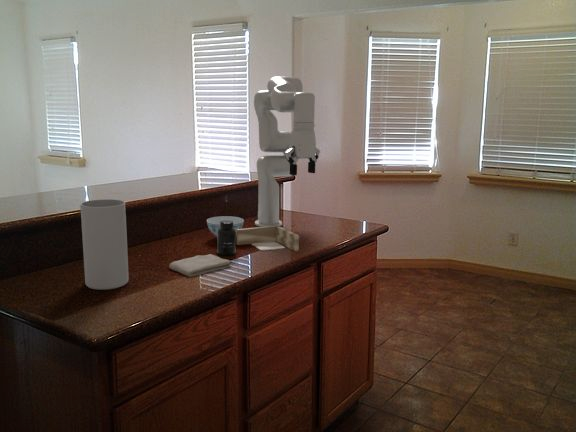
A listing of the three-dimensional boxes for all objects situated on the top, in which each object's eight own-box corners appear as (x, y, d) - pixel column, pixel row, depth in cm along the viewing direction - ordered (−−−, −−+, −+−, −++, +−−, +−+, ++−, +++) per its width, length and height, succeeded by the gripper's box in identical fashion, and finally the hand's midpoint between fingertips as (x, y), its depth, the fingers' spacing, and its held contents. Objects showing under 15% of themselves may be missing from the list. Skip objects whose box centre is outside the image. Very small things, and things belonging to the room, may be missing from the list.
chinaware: (246, 234, 223) (246, 217, 221) (239, 244, 208) (240, 225, 207) (211, 233, 224) (211, 215, 223) (202, 242, 210) (202, 223, 208)
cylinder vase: (113, 274, 169) (109, 197, 164) (137, 283, 162) (133, 203, 156) (77, 283, 160) (72, 203, 155) (100, 293, 152) (95, 209, 147)
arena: (236, 244, 208) (236, 229, 207) (277, 239, 216) (277, 225, 215) (254, 256, 192) (255, 240, 191) (298, 250, 200) (298, 235, 199)
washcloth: (232, 267, 180) (232, 258, 180) (189, 279, 168) (189, 269, 167) (211, 259, 189) (211, 251, 188) (168, 270, 176) (168, 261, 175)
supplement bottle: (226, 256, 191) (226, 224, 188) (213, 253, 195) (213, 221, 192) (239, 252, 196) (239, 221, 194) (226, 249, 200) (226, 218, 198)
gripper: (312, 126, 200) (311, 171, 204) (279, 127, 188) (278, 174, 192) (327, 127, 195) (325, 173, 199) (294, 128, 183) (293, 176, 187)
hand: (302, 173), depth 195 cm, fingers open, 9 cm apart
